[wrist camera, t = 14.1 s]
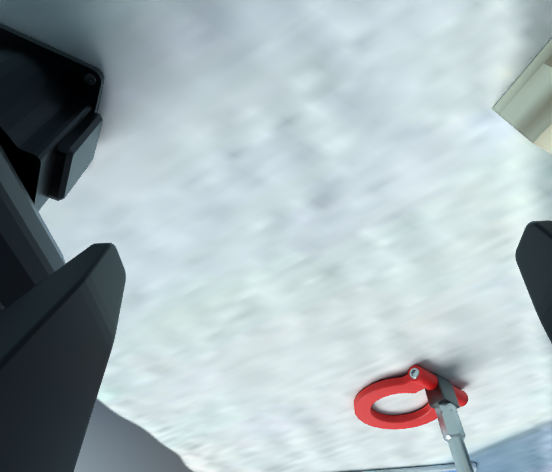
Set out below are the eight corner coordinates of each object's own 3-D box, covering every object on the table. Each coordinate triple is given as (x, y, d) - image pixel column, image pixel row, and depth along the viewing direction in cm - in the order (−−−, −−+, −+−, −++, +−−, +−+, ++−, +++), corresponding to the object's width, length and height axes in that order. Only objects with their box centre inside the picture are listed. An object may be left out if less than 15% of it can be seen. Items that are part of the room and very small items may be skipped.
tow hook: (393, 425, 42) (471, 390, 37) (427, 590, 32) (540, 570, 27) (334, 399, 38) (412, 356, 34) (352, 573, 28) (466, 548, 24)
